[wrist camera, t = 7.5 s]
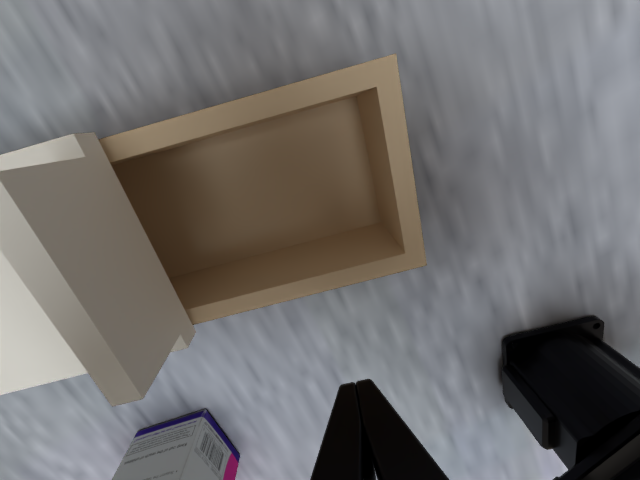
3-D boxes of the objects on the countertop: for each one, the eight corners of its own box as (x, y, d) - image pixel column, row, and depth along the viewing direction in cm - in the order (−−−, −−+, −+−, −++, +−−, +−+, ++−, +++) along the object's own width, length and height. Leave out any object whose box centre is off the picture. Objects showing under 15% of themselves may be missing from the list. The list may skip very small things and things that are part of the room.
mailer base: (366, 74, 15) (395, 53, 10) (394, 227, 18) (426, 265, 13) (57, 163, 15) (-49, 182, 11) (133, 295, 18) (75, 354, 14)
